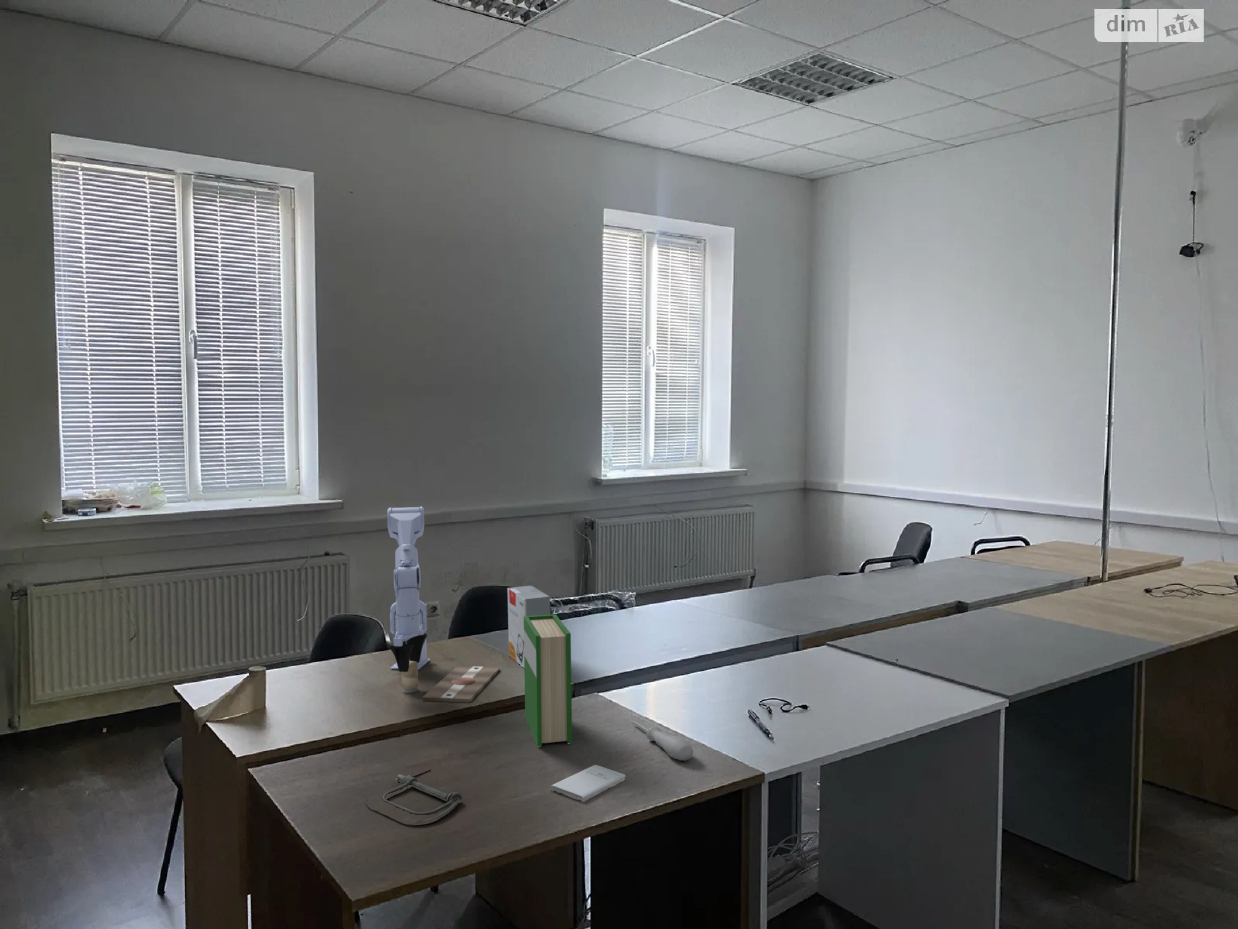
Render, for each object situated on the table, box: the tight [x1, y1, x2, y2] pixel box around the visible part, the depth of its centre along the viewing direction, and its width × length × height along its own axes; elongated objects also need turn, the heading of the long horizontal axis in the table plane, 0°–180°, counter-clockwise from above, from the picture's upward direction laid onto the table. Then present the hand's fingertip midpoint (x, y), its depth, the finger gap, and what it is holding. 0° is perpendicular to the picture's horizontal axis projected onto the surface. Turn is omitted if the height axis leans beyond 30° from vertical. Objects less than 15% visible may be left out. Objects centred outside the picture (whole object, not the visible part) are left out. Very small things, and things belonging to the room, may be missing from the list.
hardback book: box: [523, 613, 573, 747], centre depth 198 cm, size 18×7×24 cm, turn 14°
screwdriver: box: [631, 720, 694, 762], centre depth 191 cm, size 5×25×4 cm, turn 26°
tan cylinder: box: [400, 661, 419, 694], centre depth 227 cm, size 4×4×7 cm
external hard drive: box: [550, 764, 627, 799], centre depth 171 cm, size 2×8×12 cm
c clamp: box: [381, 774, 463, 821], centre depth 166 cm, size 20×17×3 cm
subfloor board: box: [422, 665, 501, 703], centre depth 232 cm, size 26×12×1 cm, turn 172°
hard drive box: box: [507, 585, 551, 669], centre depth 251 cm, size 16×8×20 cm, turn 25°
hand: (409, 667), depth 227 cm, fingers open, 7 cm apart
